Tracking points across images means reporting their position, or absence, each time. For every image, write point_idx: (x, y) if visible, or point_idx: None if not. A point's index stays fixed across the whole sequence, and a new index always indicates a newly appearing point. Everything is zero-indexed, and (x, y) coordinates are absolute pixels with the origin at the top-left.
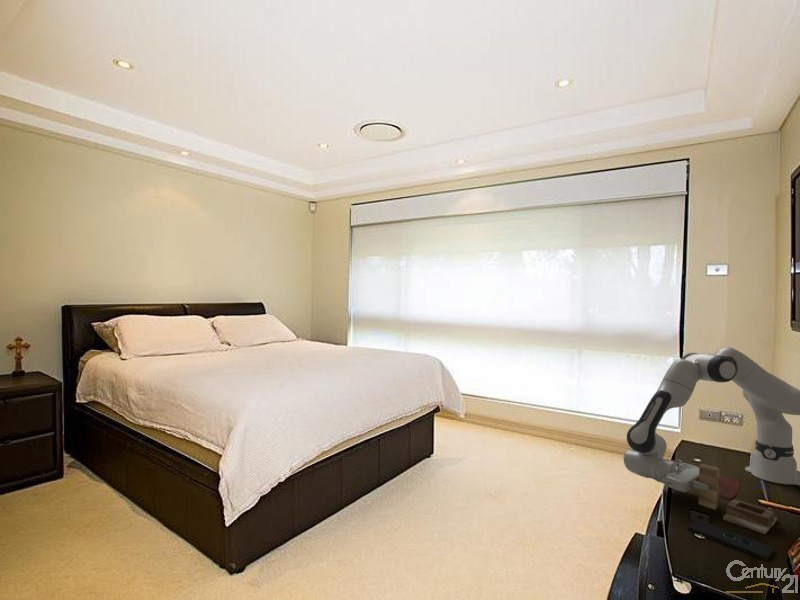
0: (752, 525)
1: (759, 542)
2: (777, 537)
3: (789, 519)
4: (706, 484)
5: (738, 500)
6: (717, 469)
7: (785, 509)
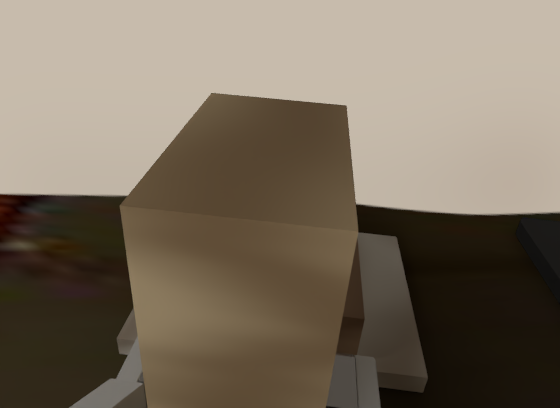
0: (386, 267)
1: (541, 244)
2: (374, 224)
3: None
4: (362, 371)
5: None
6: (271, 104)
7: (5, 209)
